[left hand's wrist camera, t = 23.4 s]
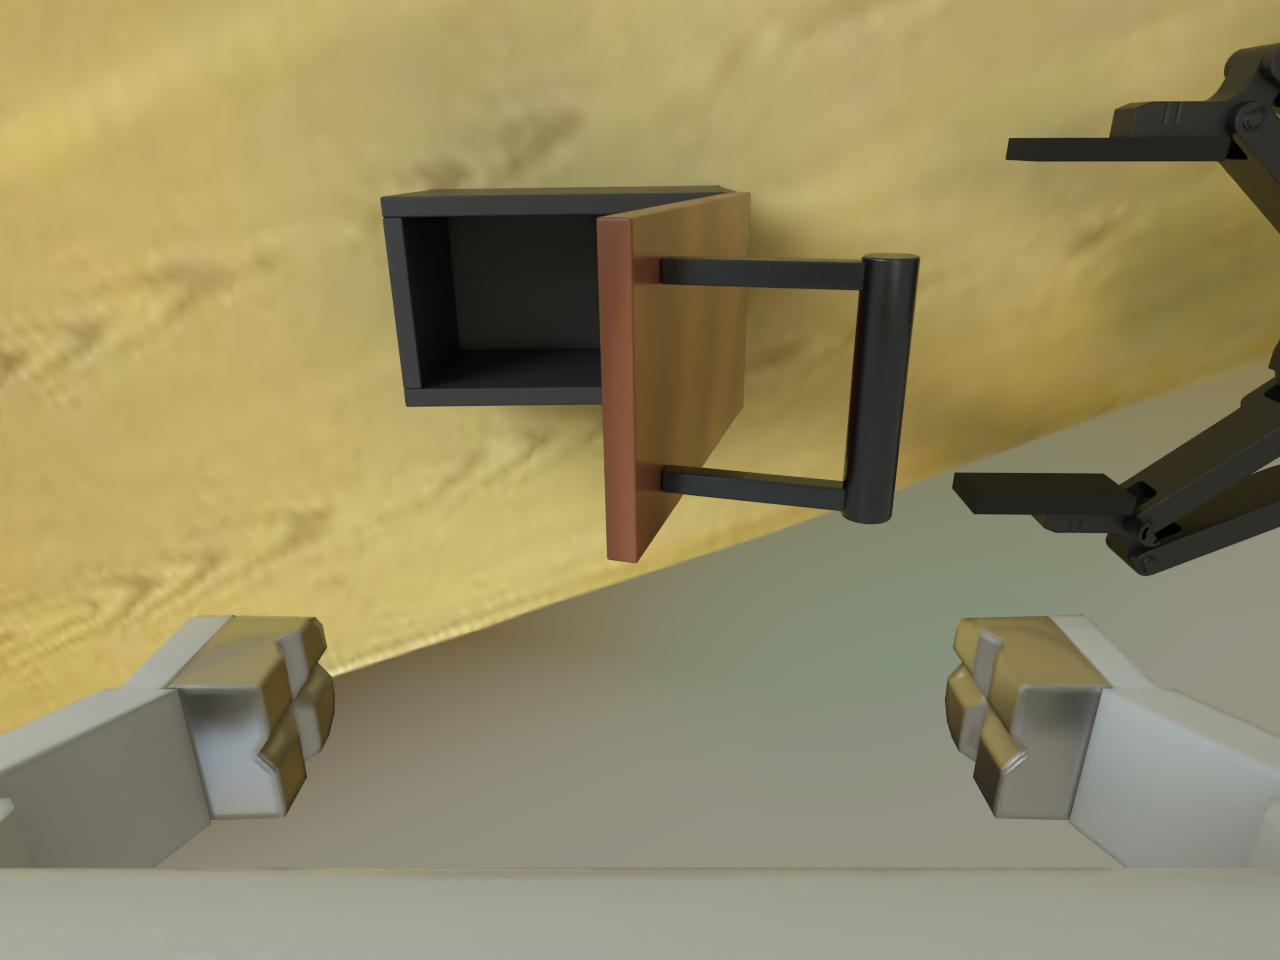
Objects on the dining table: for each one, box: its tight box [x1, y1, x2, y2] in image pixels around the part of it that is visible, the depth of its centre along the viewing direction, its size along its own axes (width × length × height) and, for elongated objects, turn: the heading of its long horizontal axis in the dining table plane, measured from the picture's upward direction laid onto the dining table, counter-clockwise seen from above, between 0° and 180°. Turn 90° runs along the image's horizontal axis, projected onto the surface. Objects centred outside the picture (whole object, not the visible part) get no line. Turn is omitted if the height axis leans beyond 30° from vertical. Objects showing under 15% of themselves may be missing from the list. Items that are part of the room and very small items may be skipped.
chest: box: [380, 186, 735, 407], centre depth 40 cm, size 15×9×10 cm, turn 91°
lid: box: [597, 192, 920, 563], centre depth 27 cm, size 16×9×8 cm
